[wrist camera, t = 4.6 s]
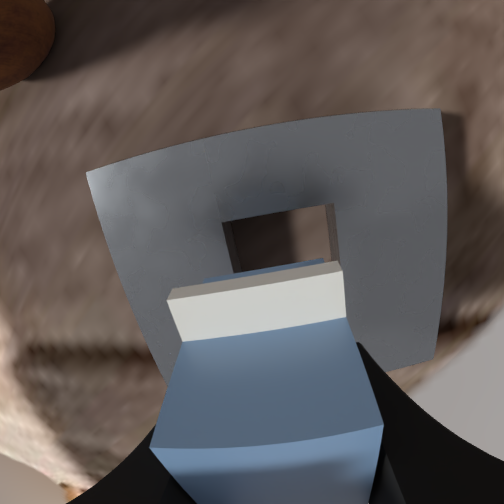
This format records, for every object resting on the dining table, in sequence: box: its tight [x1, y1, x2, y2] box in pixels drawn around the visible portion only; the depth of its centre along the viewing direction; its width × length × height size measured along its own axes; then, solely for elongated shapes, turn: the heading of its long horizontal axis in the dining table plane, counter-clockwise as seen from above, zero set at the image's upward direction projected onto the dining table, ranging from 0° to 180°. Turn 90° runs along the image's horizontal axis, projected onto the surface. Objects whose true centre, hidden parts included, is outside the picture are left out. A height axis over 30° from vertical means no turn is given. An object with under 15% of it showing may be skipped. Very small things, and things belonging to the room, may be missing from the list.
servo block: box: [149, 258, 384, 504], centre depth 8 cm, size 8×4×6 cm, turn 12°
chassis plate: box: [86, 109, 447, 386], centre depth 16 cm, size 14×16×2 cm
